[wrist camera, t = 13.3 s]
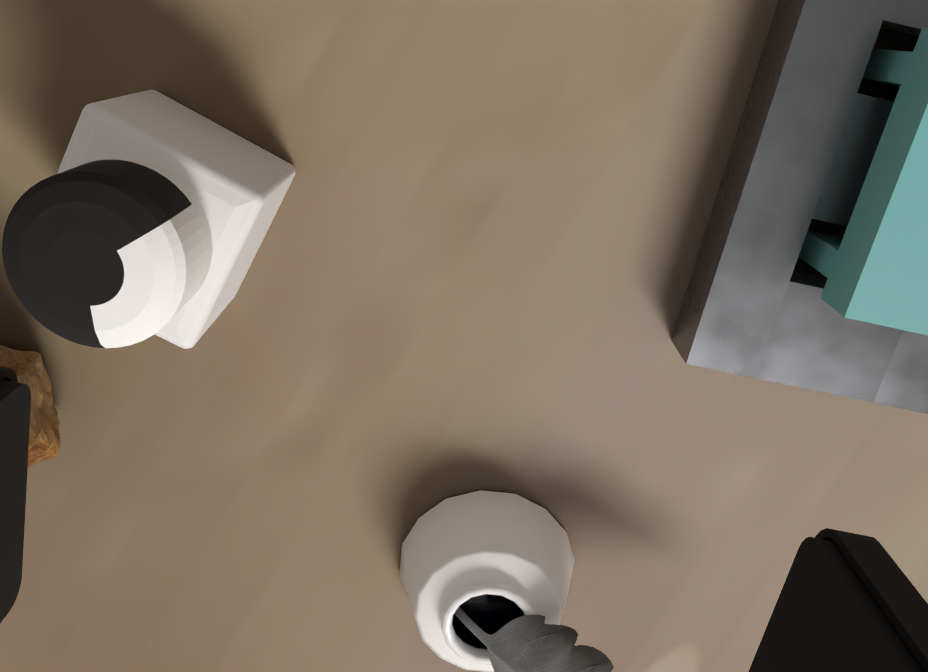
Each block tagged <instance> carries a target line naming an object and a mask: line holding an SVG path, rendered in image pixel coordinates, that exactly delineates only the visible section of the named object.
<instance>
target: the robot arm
mask: <svg viewBox="0 0 928 672" xmlns="http://www.w3.org/2000/svg"><path fill="white" fill-rule="evenodd" d="M30 410H31V392H30V388H29V386H28V385H27V384H22V383H18V379H17V376H16V373H15V372H14V370H13V369H10V368H5V367H0V623H1V622H2V620H3V619H4V618H5V616H6V615H7V614H8V612H9V611H10V609H11V608H12V606H13V604H14V602H15V600H16V597H17V595H18V592H19V588H20V584H21V577H22V560H23V541H24V523H25V504H26V485H27V466H28V447H29V428H30ZM749 672H928V604H927V603H926V601H925V600H924V599H923V598H922V596H921V595H920V594H919V592H918V591H917V590H916V589H915V587H914V586H913V585H912V584H911V582H910V581H909V580H908V578H907V577H906V576H905V575H904V573H903V572H902V571H901V569H900V568H899V567H898V566H897V564H896V563H895V562H894V561H893V559H892V558H891V557H890V555H889V554H888V553H887V552H886V550H885V549H884V548H883V547H882V545H881V544H880V543H879V542H878V541H877V540H876V539H875V538H874V537H869V536H864V535H859V534H853V533H848V532H843V531H838V530H833V529H828V528H826V529H824V530H821V531H820V532H819V533H818V534H817V535H816V537H815V538H813V537H808V538H806V539H805V540H804V541H803V542H802V543H801V545H800V547H799V549H798V552H797V554H796V557H795V559H794V561H793V564H792V566H791V569H790V571H789V574H788V576H787V579H786V581H785V584H784V586H783V589H782V591H781V593H780V596H779V598H778V601H777V603H776V606H775V608H774V611H773V613H772V616H771V618H770V621H769V623H768V625H767V628H766V630H765V633H764V635H763V638H762V640H761V643H760V645H759V648H758V650H757V653H756V655H755V657H754V660H753V662H752V665H751V667H750V670H749Z"/></svg>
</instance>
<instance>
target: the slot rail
mask: <svg viewBox="0 0 928 672" xmlns="http://www.w3.org/2000/svg"><path fill="white" fill-rule="evenodd" d="M881 27H883V28H888V29H892V30H896V31H900V32H904V33H908V34H913V35H917V36H919V35H920V33H921V30H922V27H923V28H928V0H779V4H778V7H777V10H776V13H775V16H774V19H773V22H772V26H771V29H770V32H769V35H768V38H767V41H766V44H765V48H764V51H763V54H762V57H761V60H760V63H759V66H758V70H757V73H756V76H755V79H754V82H753V85H752V89H751V92H750V95H749V98H748V101H747V104H746V107H745V111H744V114H743V117H742V120H741V123H740V126H739V129H738V133H737V136H736V139H735V142H734V145H733V148H732V151H731V155H730V158H729V161H728V164H727V167H726V170H725V173H724V177H723V180H722V183H721V186H720V189H719V192H718V195H717V199H716V202H715V205H714V208H713V211H712V214H711V217H710V221H709V224H708V227H707V230H706V233H705V236H704V239H703V243H702V246H701V249H700V252H699V255H698V258H697V261H696V265H695V268H694V271H693V274H692V277H691V280H690V283H689V287H688V290H687V293H686V296H685V299H684V302H683V305H682V309H681V312H680V315H679V318H678V321H677V324H676V327H675V331H674V334H673V337H672V340H671V341H672V342H673V344H674V345H675V347H676V349H677V350H678V352H679V353H680V355H681V356H682V358H683V360H684V361H685V363H686V364H690V365H694V366H699V367H704V368H709V369H714V370H718V371H723V372H728V373H733V374H738V375H743V376H747V377H752V378H757V379H762V380H767V381H772V382H776V383H781V384H786V385H791V386H796V387H801V388H805V389H810V390H815V391H820V392H825V393H830V394H834V395H839V396H844V397H849V398H854V399H859V400H863V401H868V402H873V403H878V404H883V405H888V406H892V407H897V408H902V409H907V410H912V411H917V412H921V413H926V414H928V335H923V334H919V333H914V332H910V331H905V330H900V329H896V328H891V327H887V326H882V325H877V324H873V323H868V322H863V321H859V320H854V319H850V318H845V317H843V316H842V315H841V314H840V313H838V312H837V311H836V310H835V309H833V308H832V307H831V306H829V305H828V304H827V303H826V302H824V301H823V300H822V299H821V295H822V293H823V290H824V287H825V285H826V282H827V279H828V278H827V277H826V276H824V275H820V274H816V273H811V272H806V271H802V270H797V269H794V267H795V265H796V262H797V259H798V256H799V254H800V251H801V248H802V245H803V242H804V240H805V237H806V234H807V231H808V228H809V226H810V223H811V220H812V219H816V220H821V221H825V222H830V223H834V224H839V225H843V226H848V224H849V221H850V218H851V216H852V213H853V210H854V208H855V205H856V202H857V200H858V197H859V194H860V192H861V189H862V186H863V184H864V181H865V178H866V176H867V173H868V171H869V168H870V165H871V163H872V160H873V157H874V155H875V152H876V149H877V147H878V144H879V141H880V139H881V136H882V133H883V131H884V128H885V125H886V123H887V120H888V117H889V115H890V112H891V110H892V107H893V104H894V101H889V100H885V99H881V98H876V97H872V96H868V95H864V94H859V93H857V92H858V89H859V86H860V83H861V81H862V78H863V75H864V72H865V69H866V67H867V64H868V61H869V58H870V55H871V53H872V50H873V47H874V44H875V41H876V39H877V36H878V33H879V30H880V28H881Z"/></svg>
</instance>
